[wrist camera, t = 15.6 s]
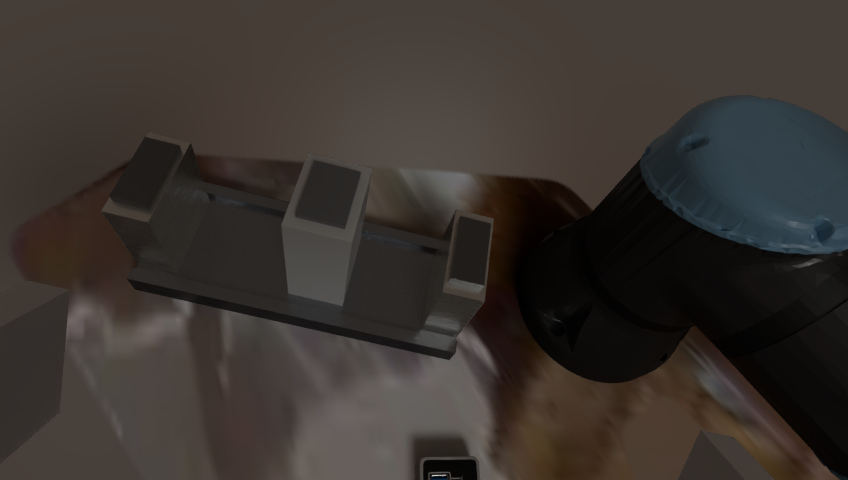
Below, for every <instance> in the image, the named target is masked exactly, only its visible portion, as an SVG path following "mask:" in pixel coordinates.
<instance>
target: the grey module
mask: <svg viewBox="0 0 848 480" xmlns="http://www.w3.org/2000/svg"><path fill="white" fill-rule="evenodd" d="M371 175H372V169H371V168H367V167H363V166H359V165H355V164H352V163H348V162H344V161H340V160H336V159H332V158H328V157H324V156H320V155H316V154H312V153H308V155H307V157H306V160H305V163H304V165H303V168H302V171H301V173H300V176H299V179H298V181H297V184H296V187H295V189H294V192H293V195H292V198H291V200H290V203H289V206H288V208H287V211H286V214H285V216H284V219H283V222H282V224H281V228H282V238H283V247H284V257H285V266H286V276H287V285H288V293H289V294H293V295H297V296H302V297H306V298H310V299H315V300H319V301H323V302H328V303H332V304H336V305H340V306H343V303H344V300H345V296H346V292H347V289H348V285H349V281H350V277H351V274H352V270H353V266H354V263H355V259H356V255H357V252H358V248H359V244H360V239H361V233H362V227H363V221H364V215H365V210H366V204H367V198H368V192H369V186H370V181H371Z"/></svg>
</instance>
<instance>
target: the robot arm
mask: <svg viewBox="0 0 848 480" xmlns="http://www.w3.org/2000/svg"><path fill="white" fill-rule="evenodd" d="M69 292H70V290H68V289H64V288H59V287H55V286H50V285H46V284H41V283H37V282H32V281H26V282H24V283H22V284H20V285H18V286H15V287H13V288H11V289H9V290H7V291H4V292H2V293H0V463H2V462H3V461H4V460H5V459H6V458H7V457H8V456H10V455H11V454H12V453H13V452H14V451H15V450H17V449H18V448H19V447H20V446H21V445H22V444H24V443H25V442H26V441H27V440H28V439H29V438H30V437H32V436H33V435H34V434H35V433H36V432H37V431H39V430H40V429H41V428H42V427H43V426H44V425H45V424H47V423H48V422H49V421H50V420H51V419H52V418H53V417H55V416H56V415H57V414H58V413H59V412H60V400H61V388H62V376H63V364H64V352H65V340H66V328H67V316H68V304H69ZM518 295H519V302H520V307H521V311H522V314H523V317H524V320H525V322H526V324H527V326H528V328H529V330H530V332H531V334H532V335H533V337H534V338H535V340H536V341H537V342H538V344H539V345H540V346H541V347H542V349H543V350H544V351H545V352H546V353H547V354H548V355H549V356H550V357H551V358H552V359H553V360H555V361H556V362H557V363H558V364H560V365H561V366H563V367H564V368H565V369H567V370H569V371H571V372H572V373H574V374H576V375H579V376H581V377H583V378H586V379H589V380H593V381H597V382H603V383H621V382H627V381H631V380H634V379H636V378H638V377H641V376H643V375H645V374H648V373H650V372H652V371H654V370H655V369H657V368H658V367H660V366H661V365H662V364H663V363H665V362H666V361H667V360H668V359H669V357H670V356H671V355H672V353H673V352H674V351H675V349H676V348H677V346H678V343H679V342H680V341H681V340H682V339H683V338H684V337H685V335H686V334H687V332H688V331H689V330H690V328H691V327H692V326H694V325H695V326H696V327H697V328H698V329H699V330H700V331H701V332H702V333H703V334H704V335H705V336H706V337H707V338H708V339H709V340H710V341H711V342H712V343H713V344H714V345H715V346H716V347H717V348H718V349H719V350H720V352H721V353H722V354H723V355H724V356H725V357H726V358H727V359H728V360H729V361H730V363H731V364H732V365H733V366H734V367H735V368H736V369H737V370H738V371H739V372H740V373H741V374H742V375H743V376H744V378H745V379H746V380H747V381H748V382H749V383H750V384H751V385H752V386H753V387H754V388H755V389H756V390H757V391H758V393H759V394H760V395H761V396H762V397H763V398H764V399H765V400H766V401H767V402H768V403H769V404H770V405H771V406H772V408H773V409H774V410H775V411H776V412H777V413H778V414H779V415H780V416H781V417H782V418H783V419H784V420H785V422H786V423H787V424H788V425H789V426H790V427H791V428H792V429H793V430H794V431H795V432H796V433H797V434H798V435H799V437H800V438H801V439H802V440H803V441H804V442H805V443H806V444H807V445H808V446H809V447H810V448H811V449H812V450H813V452H814V454H815V455H816V457H817V458H818V459H819V461H820V462H821V463H822V464H823V465H824V466H826V467H827V468H828V469H829V471H830V472H831V473H832V474H834V475H835V476H836V477H838V478H839V479H840V480H848V132H846V131H845V130H843V129H842V128H840V127H839V126H837V125H836V124H834V123H832V122H831V121H829V120H827V119H825V118H824V117H822V116H820V115H818V114H816V113H814V112H811V111H809V110H807V109H804V108H801V107H799V106H796V105H794V104H791V103H787V102H784V101H780V100H777V99H772V98H771V99H770V98H767V99H764V98H760V97H756V96H749V95H736V96H726V97H720V98H716V99H712V100H709V101H707V102H704V103H702V104H700V105H698V106H696V107H694V108H693V109H691V110H690V111H688V112H687V113H686V114H685V115H683V116H682V117H681V118H680V119H679V120H678V121H677V122H676V123H675V124H674V125H673V126H672V127H671V128H670V129H669V130H668V131H667V132H666V133H665V134H663V135H661V136H660V137H658V138H657V139H655V140H654V141H653V142H651V144H650V145H649V146H648V147H647V148H646V150H645V153H644V154H643V155H642V157H641V159H640V160H639V161H638V162H637V163H636V165H634V166H633V168H632V169H631V170H630V171H629V172H628V173H627V174H626V176H624V178H623V179H622V180H621V181H620V182H619V183H618V184H617V185H616V186H615V188H614V189H613V190H612V191H611V192H610V193H609V194H608V195H607V196H606V197H605V199H604V200H603V201H602V202H601V203H600V204H599V205H598V206H597V207H596V208H595V209H594V210H593V212H592V213H591V214H590V215H588V216H586V217H584V218H581V219H579V220H577V221H576V222H575V223H570V224H567V225H564V226H562V227H559V228H557V229H555V230H553V231H552V232H550V233H549V234H547V235H546V236H545V237H544V238H543V239H541V241H540V242H539V243H538V244H537V245H536V246H535V247H534V249H533V250H532V251H531V252H530V254H529V255H528V256H527V258H526V260H525V262H524V264H523V266H522V269H521V272H520V276H519V284H518ZM678 480H774V479H773V478H772V477H771V476H770V475H769V474H768V473H767V472H766V470H765V469H764V468H763V467H762V466H761V465H760V464H759V463H758V462H757V461H756V460H755V459H754V458H753V457H752V456H751V455H750V454H749V453H748V452H747V451H746V450H745V449H744V448H743V447H742V446H741V445H740V444H739V443H738V441H737V440H736V439H735V438H734V437H730V436H725V435H721V434H716V433H712V432H707V431H703V430H701V431H700V433H699V435H698V437H697V439H696V441H695V444H694V446H693V448H692V450H691V452H690V455H689V457H688V459H687V461H686V463H685V465H684V468H683V470H682V472H681V475H680V476H679V479H678Z"/></svg>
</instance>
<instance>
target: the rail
mask: <svg viewBox="0 0 848 480" xmlns="http://www.w3.org/2000/svg"><path fill="white" fill-rule="evenodd" d="M288 206H289V203H288V202H284V201H280V200H276V199H272V198H268V197H264V196H260V195H256V194H252V193H248V192H244V191H240V190H236V189H231V188H227V187H223V186H219V185H215V184H211V183H207V182H203V179H202V176H201V172H200V169H199V166H198V163H197V160H196V157H195V154H194V151H193V148H192V145H191V143H190V142H187V141H183V140H179V139H175V138H171V137H167V136H163V135H159V134H155V133H151V132H149V133H148V134H147V136H146V137H145V138H144V140H143V141H142V143H141V145H140V146H139V148H138V149H137V151H136V153H135V154H134V156H133V158H132V159H131V161H130V163H129V164H128V166H127V168H126V169H125V171H124V173H123V174H122V176H121V178H120V179H119V181H118V183H117V184H116V186H115V188H114V189H113V191H112V192H111V194H110V197H109V199H108V201H107V202H106V204H105V206H104V207H103V209H102V211H101V212H102V213H103V215H104V216H105V218H106V219H107V220H108V222H109V223H110V225H111V226H112V228H113V229H114V231H115V232H116V234H117V235H118V236H119V238H120V239H121V241H122V242H123V244H124V245H125V247H126V248H127V250H128V251H129V252H130V254H131V255H132V257H133V258H134V260H135V261H136V263H137V264H138V266H137V268H135V267H133V268H132V269H131V271H130V273H129V275H128V277H127V280H128V281H129V282H130V283H131V285H132V286H133V287H134V289H136V290H140V291H144V292H149V293H153V294H158V295H162V296H167V297H171V298H176V299H180V300H185V301H189V302H193V303H198V304H202V305H207V306H211V307H216V308H220V309H225V310H229V311H233V312H238V313H242V314H247V315H251V316H256V317H260V318H265V319H269V320H273V321H278V322H282V323H287V324H291V325H296V326H300V327H305V328H309V329H314V330H318V331H322V332H327V333H331V334H336V335H340V336H345V337H349V338H354V339H358V340H362V341H367V342H371V343H376V344H380V345H385V346H389V347H394V348H398V349H403V350H407V351H411V352H416V353H420V354H425V355H429V356H434V357H438V358H443V359H447V360H450V359H451V357H452V356H453V355H454V354H455V352H456V345H457V341H456V337H457V336H458V334H459V333H460V332H461V331H462V329H463V328H464V327H465V326H466V324H467V323H468V322H469V321H470V319H471V318H472V317H473V316H474V314H475V313H476V312H477V311H478V309H479V308H480V307H481V306H482V304H483V303H484V302H485V293H486V284H487V275H488V266H489V257H490V248H491V239H492V230H493V221H494V219H493V218H489V217H485V216H481V215H477V214H473V213H469V212H465V211H461V210H457V209H456V210H455V212H454V215H453V217H452V219H451V221H450V223H449V225H448V227H447V230H446V232H445V234H444V236H443V238H442V240H439V239H435V238H431V237H427V236H423V235H419V234H415V233H411V232H407V231H403V230H398V229H394V228H390V227H386V226H382V225H378V224H374V223H370V222H366V221H363V227H362V233H361V239H360V244H359V248H358V252H357V255H356V259H355V263H354V266H353V270H352V274H351V277H350V281H349V285H348V289H347V292H346V296H345V300H344V303H343V306H340V305H336V304H332V303H328V302H323V301H319V300H315V299H310V298H306V297H302V296H297V295H293V294H289V293H288V285H287V276H286V266H285V257H284V247H283V238H282V228H281V224H282V222H283V219H284V216H285V214H286V211H287V208H288Z"/></svg>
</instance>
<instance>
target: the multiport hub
mask: <svg viewBox="0 0 848 480" xmlns="http://www.w3.org/2000/svg"><path fill="white" fill-rule="evenodd" d="M415 475H416V480H480V474H479V462H478V460H477V458H475V457H473V456H461V457H424V458H422V459H420V460H418V461H417V462H416V465H415Z"/></svg>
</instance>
